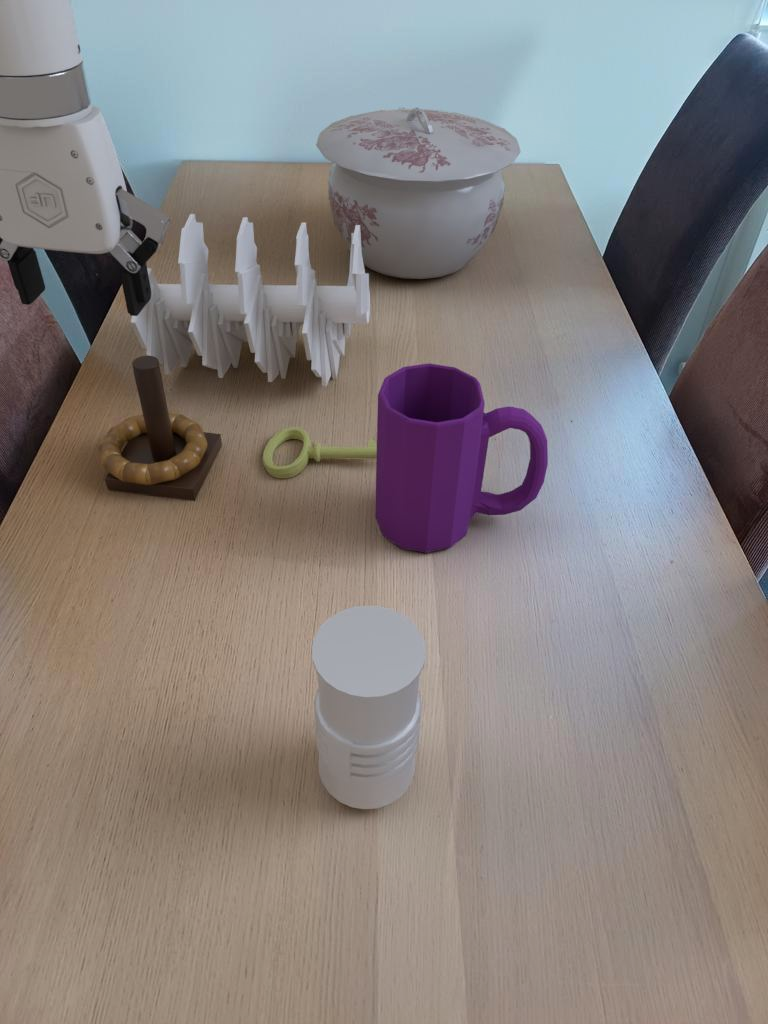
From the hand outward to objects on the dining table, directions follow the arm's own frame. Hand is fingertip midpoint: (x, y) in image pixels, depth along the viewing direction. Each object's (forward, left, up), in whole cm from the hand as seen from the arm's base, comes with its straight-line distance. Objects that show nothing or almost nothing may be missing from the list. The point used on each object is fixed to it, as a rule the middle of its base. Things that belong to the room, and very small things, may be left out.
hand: (86, 302), depth 71 cm
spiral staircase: (+9, +20, -18) cm, 29 cm away
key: (+19, +4, -18) cm, 27 cm away
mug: (+34, -3, -18) cm, 39 cm away
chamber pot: (+23, +53, -18) cm, 61 cm away
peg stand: (+4, 0, -18) cm, 19 cm away
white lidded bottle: (+30, -31, -18) cm, 47 cm away
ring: (+3, 0, -16) cm, 16 cm away
